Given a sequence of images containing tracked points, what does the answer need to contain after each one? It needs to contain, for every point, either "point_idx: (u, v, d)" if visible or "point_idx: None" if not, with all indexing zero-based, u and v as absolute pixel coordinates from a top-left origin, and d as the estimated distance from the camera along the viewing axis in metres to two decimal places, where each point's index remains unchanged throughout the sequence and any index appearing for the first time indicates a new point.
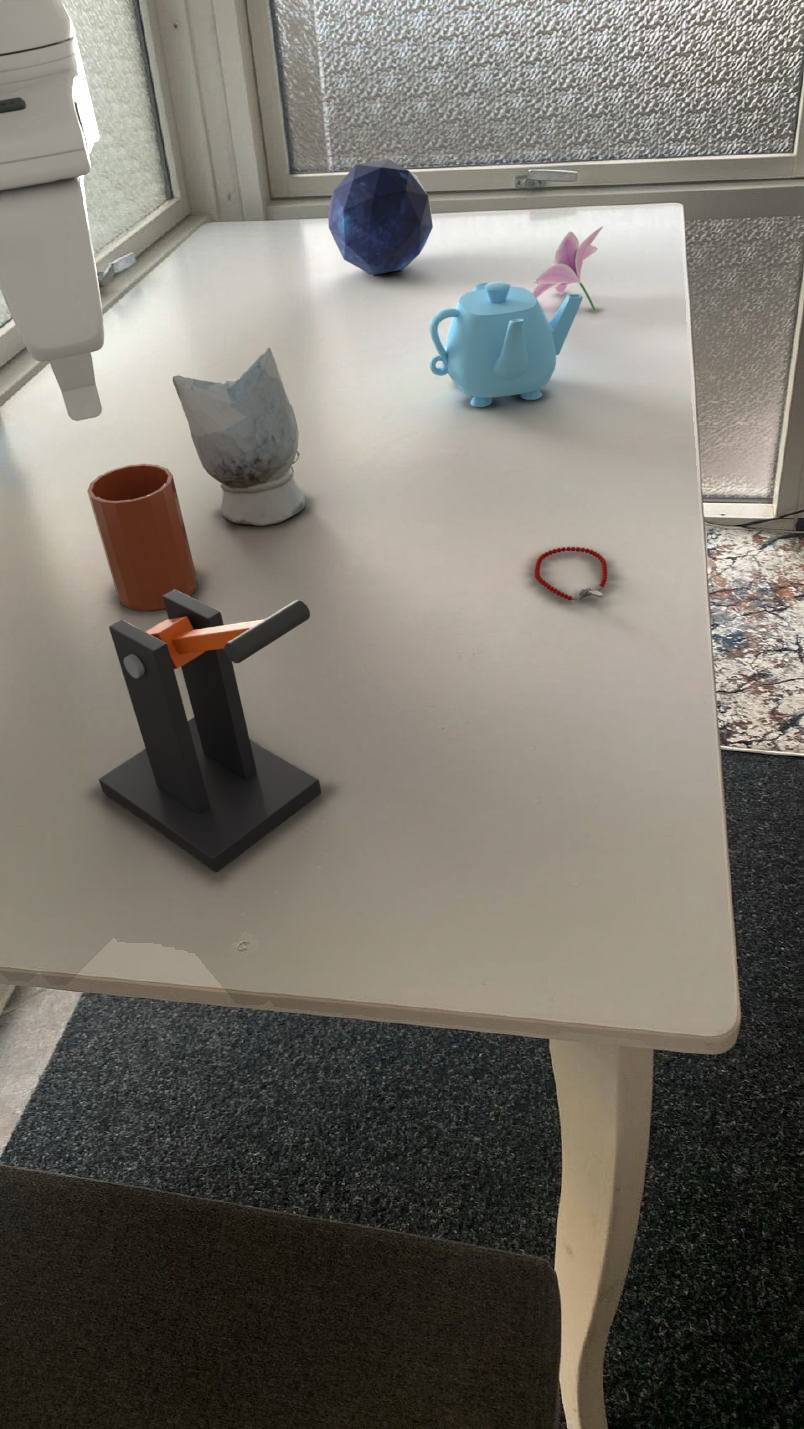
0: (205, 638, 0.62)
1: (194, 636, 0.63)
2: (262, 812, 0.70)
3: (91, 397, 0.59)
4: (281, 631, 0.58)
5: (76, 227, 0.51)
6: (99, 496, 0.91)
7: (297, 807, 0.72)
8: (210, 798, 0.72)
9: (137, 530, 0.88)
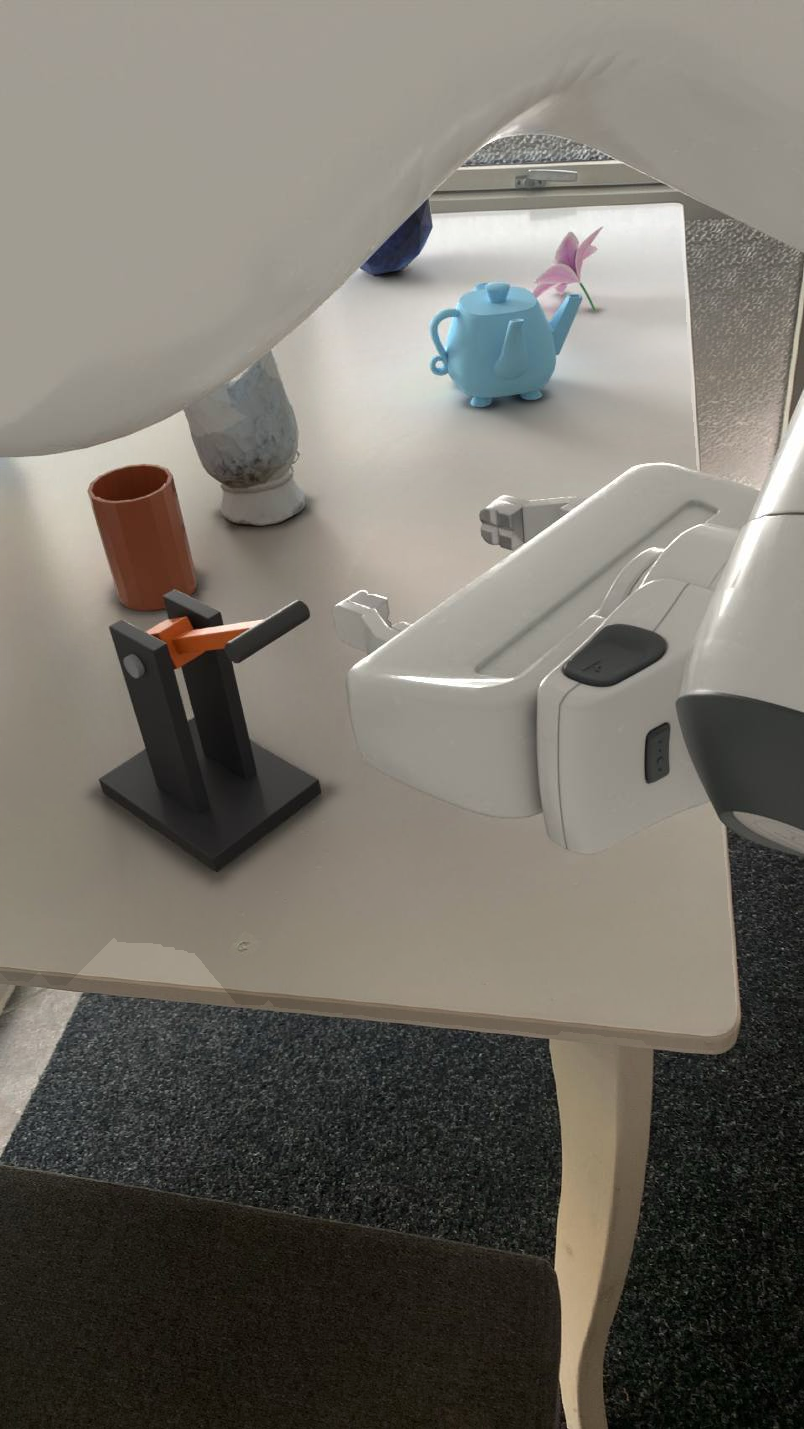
0: (205, 638, 0.62)
1: (194, 636, 0.63)
2: (262, 812, 0.70)
3: (355, 640, 0.44)
4: (281, 631, 0.58)
5: (477, 806, 0.37)
6: (99, 496, 0.91)
7: (297, 807, 0.72)
8: (210, 798, 0.72)
9: (137, 530, 0.88)
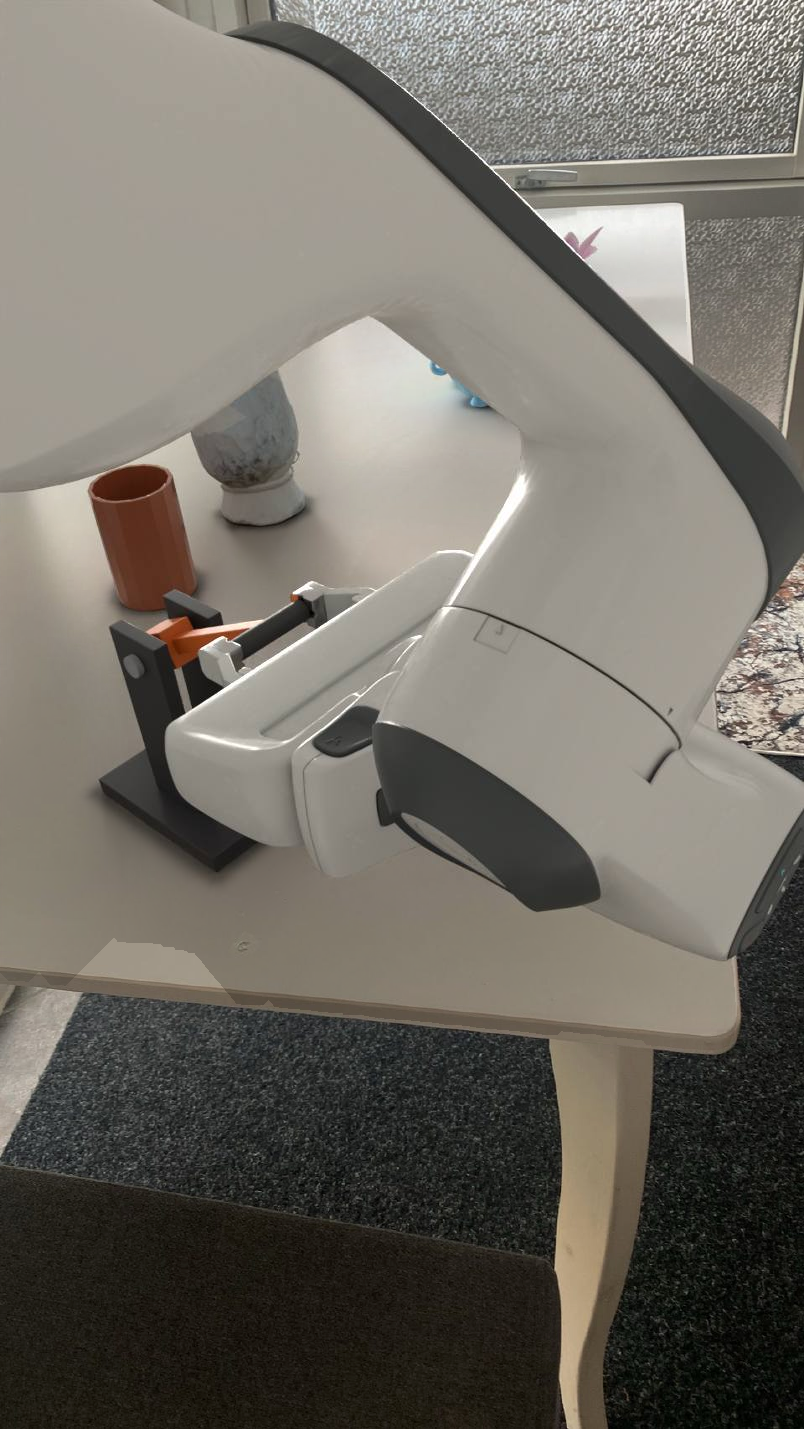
0: (205, 638, 0.62)
1: (194, 636, 0.63)
2: None
3: (215, 677, 0.56)
4: (281, 631, 0.58)
5: (258, 837, 0.48)
6: (99, 496, 0.91)
7: None
8: None
9: (137, 530, 0.88)
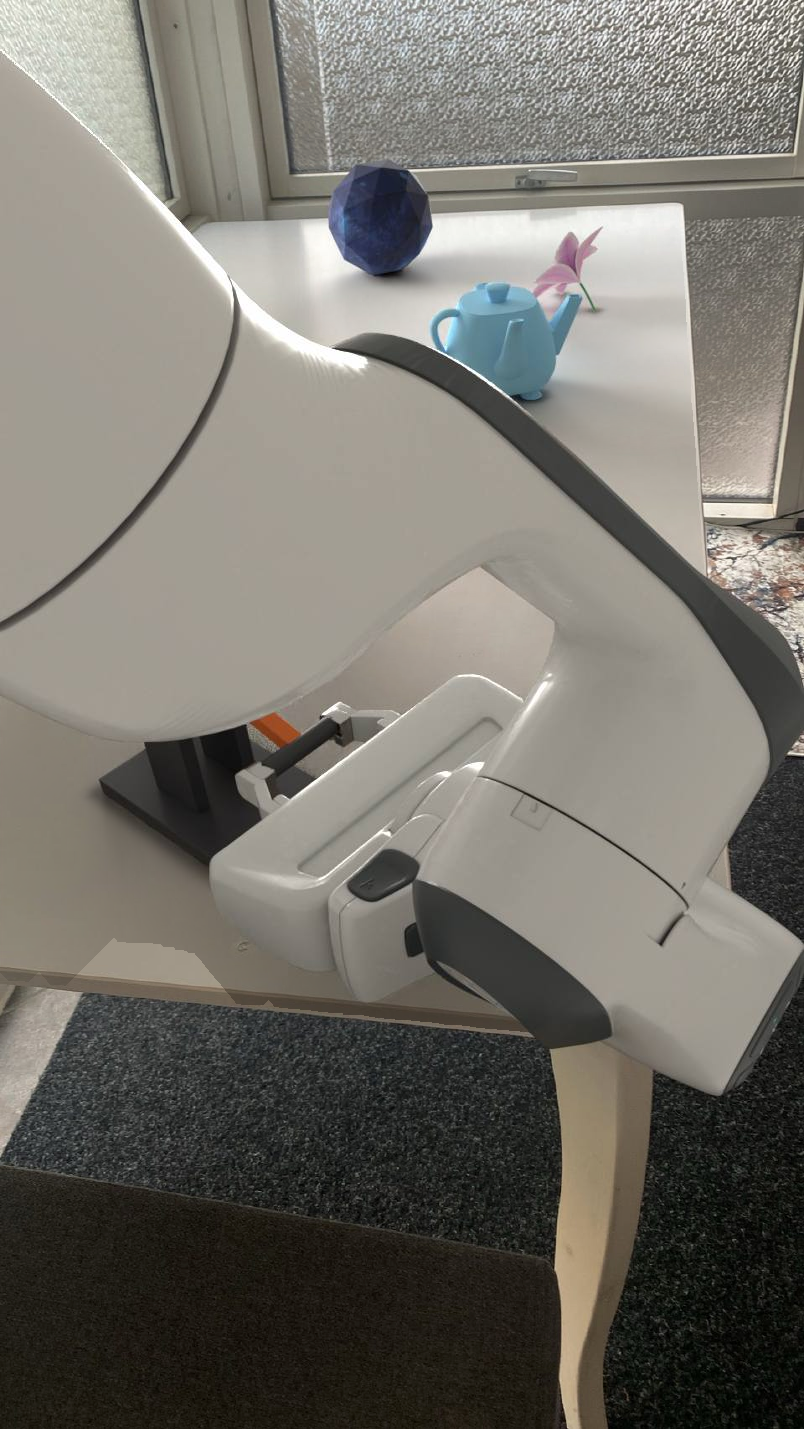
0: None
1: None
2: None
3: (251, 799, 0.60)
4: (310, 752, 0.62)
5: (295, 963, 0.53)
6: None
7: None
8: (210, 798, 0.72)
9: None
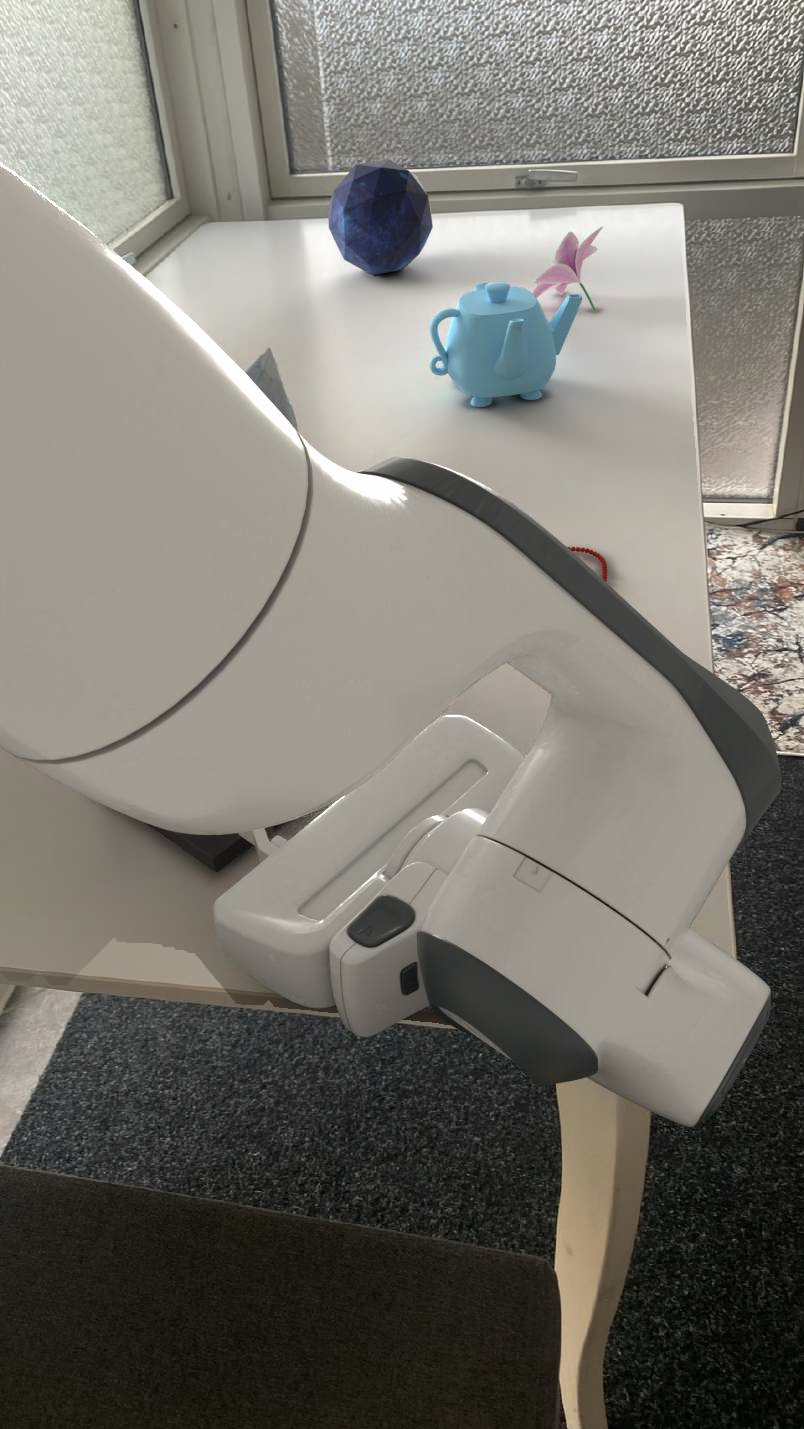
0: None
1: None
2: None
3: (248, 837, 0.63)
4: None
5: (295, 1000, 0.56)
6: None
7: None
8: None
9: None
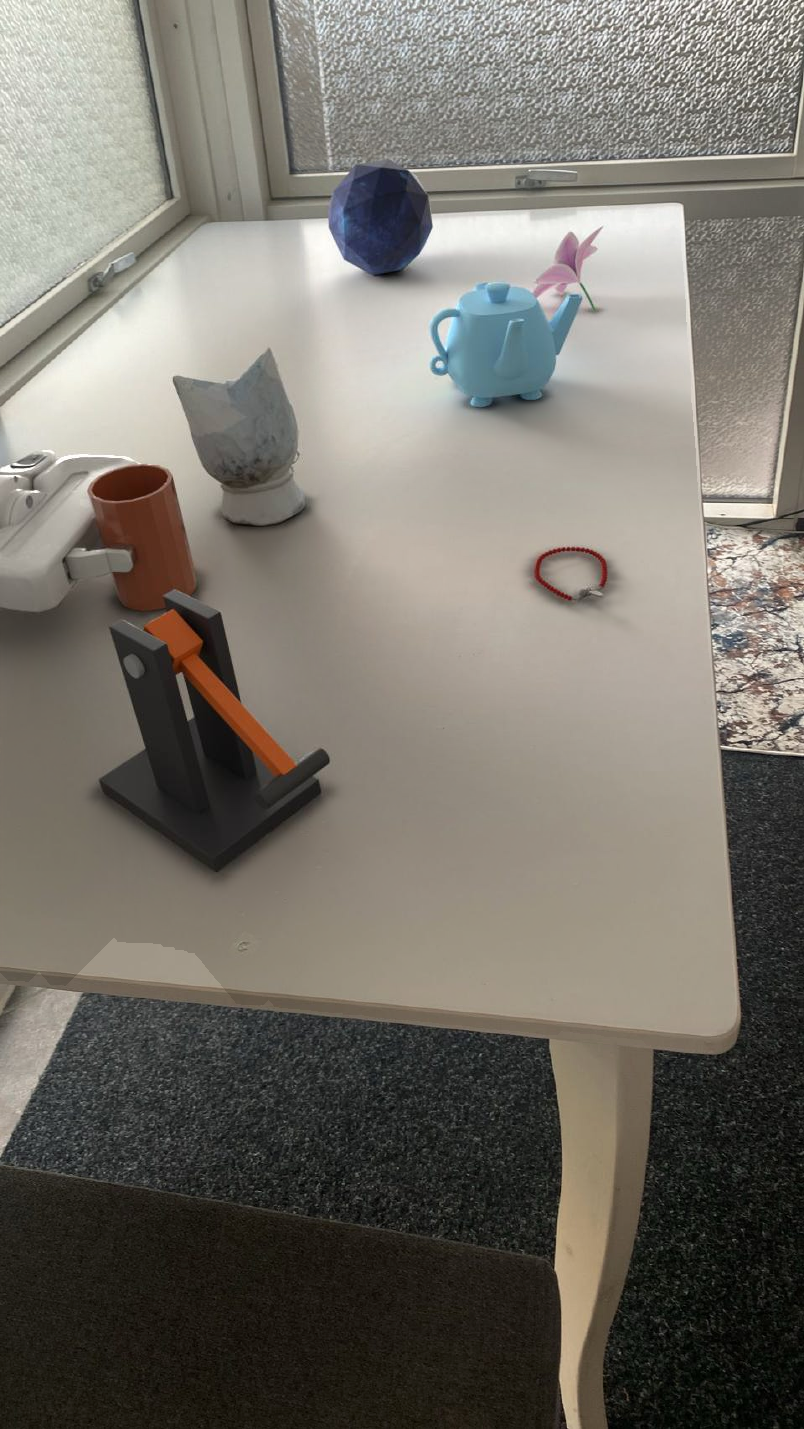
0: (223, 710, 0.65)
1: (211, 694, 0.65)
2: (262, 812, 0.70)
3: None
4: (302, 782, 0.65)
5: None
6: (99, 496, 0.90)
7: (297, 807, 0.72)
8: (210, 798, 0.72)
9: (137, 530, 0.88)
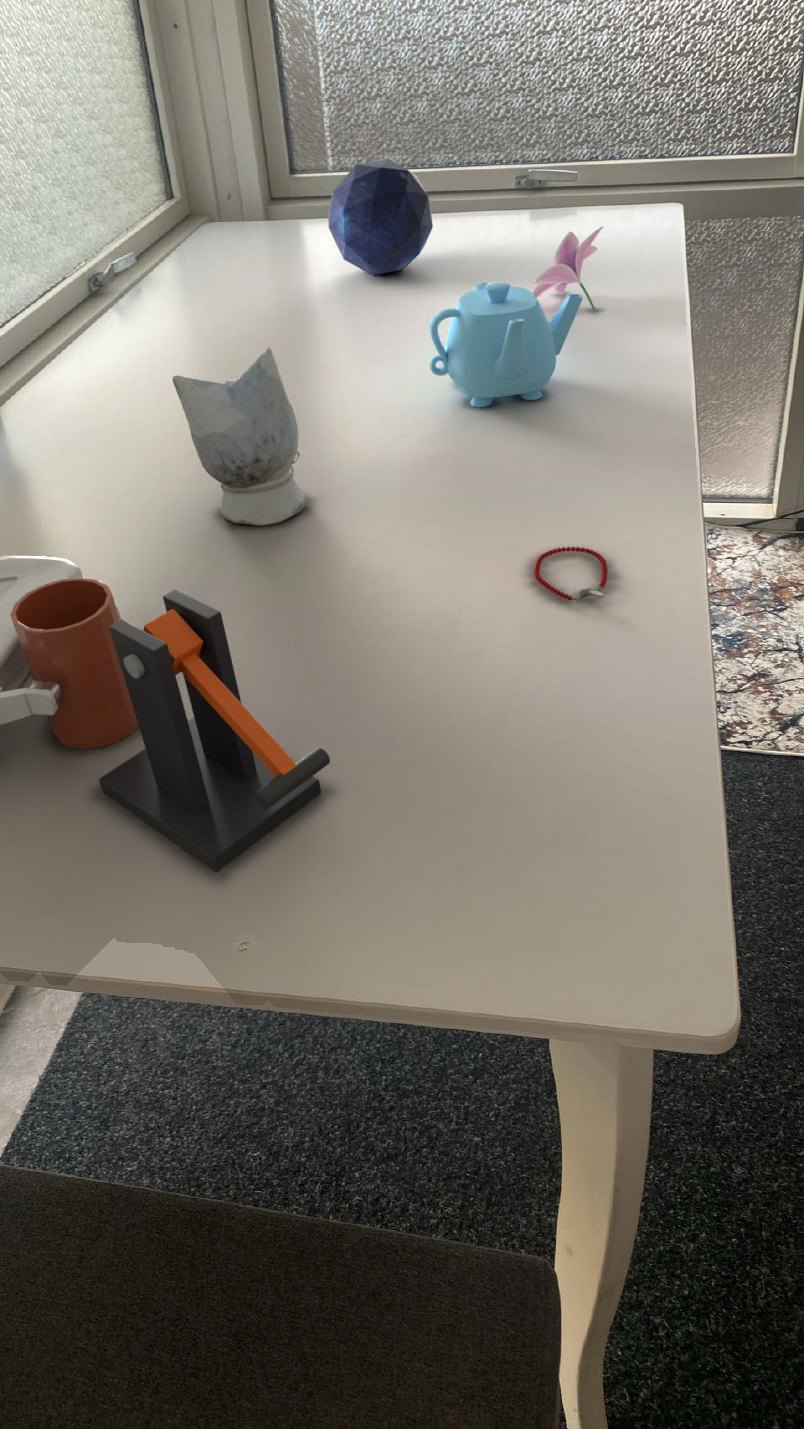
0: (223, 710, 0.65)
1: (211, 694, 0.65)
2: (262, 812, 0.70)
3: None
4: (302, 782, 0.65)
5: None
6: (26, 617, 0.77)
7: (297, 807, 0.72)
8: (210, 798, 0.72)
9: (69, 662, 0.74)
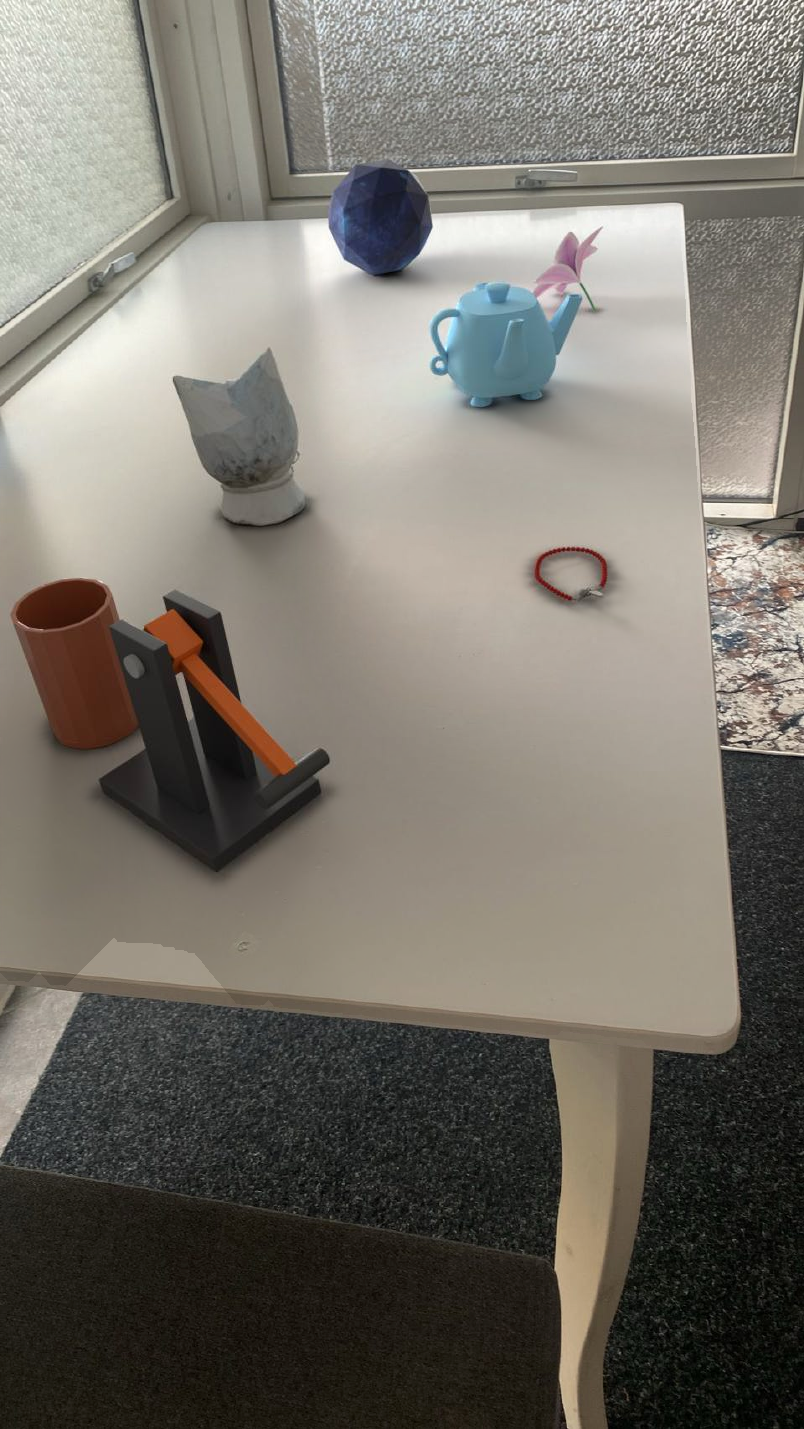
0: (223, 710, 0.65)
1: (211, 694, 0.65)
2: (262, 812, 0.70)
3: None
4: (302, 782, 0.65)
5: None
6: (26, 617, 0.77)
7: (297, 807, 0.72)
8: (210, 798, 0.72)
9: (69, 662, 0.74)
